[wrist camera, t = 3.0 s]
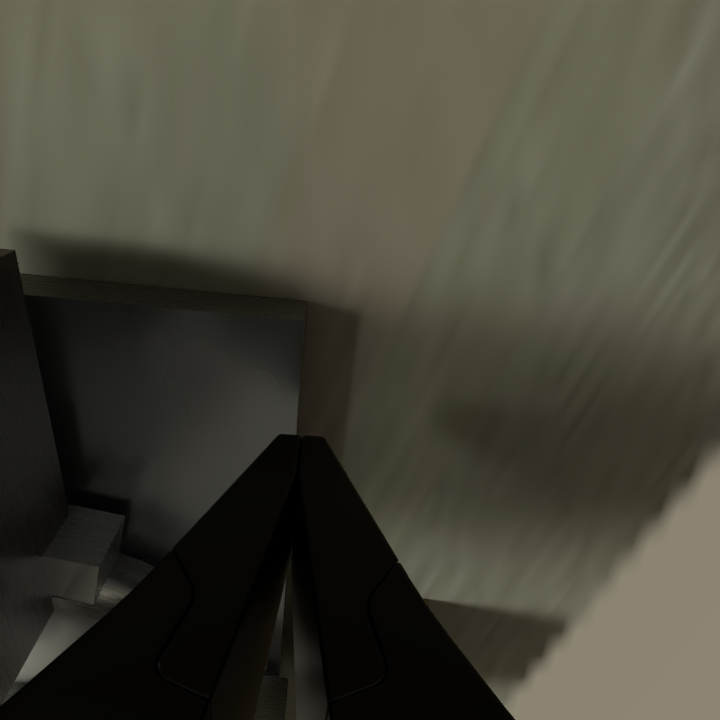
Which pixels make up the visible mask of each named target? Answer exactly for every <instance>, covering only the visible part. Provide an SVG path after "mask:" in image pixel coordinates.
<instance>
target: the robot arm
mask: <svg viewBox="0 0 720 720" xmlns="http://www.w3.org/2000/svg"><path fill="white" fill-rule="evenodd" d="M292 538H293V540H292ZM291 547H292V555H291ZM290 555H291V575H292V607H293V639H294V671H295V703H296V720H515V719H514V718H513V716H512V715H511V714H510V713H509V712H508V710H507V709H506V708H505V707H504V705H503V704H502V703H501V701H500V700H499V699H498V698H497V696H496V695H495V694H494V692H493V691H492V690H491V689H490V687H489V686H488V685H487V684H486V682H485V681H484V680H483V678H482V677H481V676H480V675H479V673H478V672H477V671H476V669H475V668H474V667H473V666H472V664H471V663H470V662H469V660H468V659H467V658H466V657H465V655H464V654H463V653H462V651H461V650H460V649H459V648H458V646H457V645H456V644H455V642H454V641H453V640H452V639H451V637H450V636H449V635H448V633H447V632H446V631H445V629H444V628H443V627H442V625H441V624H440V623H439V621H438V620H437V619H436V617H435V616H434V614H433V613H432V612H431V610H430V609H429V608H428V606H427V605H426V603H425V602H424V600H423V599H422V597H421V596H420V594H419V592H418V591H417V589H416V588H415V586H414V585H413V583H412V582H411V580H410V578H409V577H408V575H407V573H406V572H405V570H404V568H403V567H402V565H401V564H400V563H398V559H397V557H396V555H395V554H394V552H393V550H392V549H391V547H390V545H389V544H388V542H387V540H386V539H385V537H384V535H383V534H382V532H381V530H380V529H379V527H378V525H377V524H376V522H375V520H374V519H373V517H372V515H371V514H370V512H369V510H368V509H367V507H366V505H365V504H364V502H363V500H362V499H361V497H360V496H359V494H358V492H357V491H356V489H355V487H354V486H353V484H352V482H351V481H350V479H349V477H348V476H347V474H346V472H345V471H344V469H343V467H342V466H341V464H340V462H339V461H338V459H337V457H336V456H335V454H334V452H333V451H332V449H331V447H330V446H329V444H328V442H327V441H326V439H325V438H324V437H319V436H303V437H302V440H301V437H300V436H299V435H291V434H279V435H278V436H277V437H276V438H275V439H274V440H273V441H272V442H271V443H270V444H269V445H268V446H267V447H266V448H265V449H264V451H263V452H262V453H261V454H260V455H259V456H258V457H257V458H256V459H255V460H254V461H253V462H252V463H251V465H250V466H249V467H248V468H247V469H246V470H245V471H244V472H243V473H242V474H241V475H240V476H239V477H238V478H237V480H236V481H235V482H234V483H233V484H232V485H231V486H230V487H229V488H228V489H227V490H226V491H225V492H224V493H223V495H222V496H221V497H220V498H219V499H218V500H217V501H216V502H215V503H214V504H213V505H212V506H211V507H210V508H209V510H208V511H207V512H206V513H205V514H204V515H203V516H202V517H201V518H200V519H199V520H198V521H197V522H196V523H195V525H194V526H193V527H192V528H191V529H190V530H189V531H188V532H187V533H186V534H185V535H184V536H183V537H182V539H181V540H180V541H179V542H178V543H177V544H176V545H175V546H174V547H173V548H172V551H169V552H168V553H167V554H166V555H165V556H164V557H163V559H162V560H161V561H160V562H159V563H158V564H157V565H156V566H155V567H154V568H153V569H152V570H151V571H150V572H149V573H148V574H147V575H146V576H145V577H144V578H143V579H142V580H141V581H140V582H139V583H138V584H137V585H136V586H135V587H134V589H133V590H132V591H131V592H130V593H128V594H127V595H126V596H125V597H124V598H123V599H122V600H121V601H120V602H119V603H117V604H116V605H115V606H114V607H113V608H112V609H111V610H110V611H109V612H108V613H106V614H105V615H104V616H103V617H102V618H101V619H100V620H99V621H98V622H97V623H95V624H94V625H93V626H92V627H91V628H90V629H89V630H87V631H86V632H85V633H84V634H83V635H82V636H80V637H79V638H78V639H77V640H76V641H75V642H74V643H72V644H71V645H70V646H69V647H68V648H67V649H66V650H64V651H63V652H62V653H61V654H60V655H59V656H57V657H56V658H55V659H54V660H53V661H52V662H51V663H49V664H48V665H47V666H46V667H45V668H44V669H43V670H41V671H40V672H39V673H38V674H37V675H36V676H34V677H33V678H32V679H31V680H30V681H29V682H28V683H26V684H25V685H24V686H23V687H22V688H21V689H20V690H18V691H17V692H16V693H15V694H14V695H13V696H11V697H10V698H9V699H8V700H7V701H5V702H4V703H3V704H2V705H0V720H254V716H255V711H256V707H257V703H258V698H259V694H260V689H261V685H262V681H263V676H264V672H265V667H266V663H267V659H268V654H269V650H270V645H271V641H272V637H273V632H274V628H275V624H276V619H277V615H278V610H279V606H280V602H281V597H282V593H283V588H284V584H285V580H286V575H287V571H288V566H289V561H290Z"/></svg>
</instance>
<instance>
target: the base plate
mask: <svg viewBox="0 0 720 720" xmlns="http://www.w3.org/2000/svg"><path fill="white" fill-rule="evenodd" d="M20 276H21V281H22V286H23V291H24V296H25V301H26V305H27V310H28V315H29V320H30V325H31V329H32V334H33V339H34V344H35V349H36V354H37V358H38V363H39V368H40V373H41V378H42V382H43V387H44V392H45V397H46V402H47V407H48V411H49V416H50V421H51V426H52V431H53V435H54V440H55V445H56V450H57V455H58V460H59V464H60V469H61V474H62V479H63V484H64V488H65V493H66V498H67V503H68V504H70V505H75V506H80V507H85V508H90V509H94V510H99V511H104V512H109V513H114V514H119V515H124V516H125V520H124V526H123V532H122V538H121V545H120V551H119V552H120V553H122V554H125V555H128V556H130V557H133V558H136V559H139V560H141V561H144V562H146V563H148V564H150V565H152V566H154V567H155V566H156V565H157V564H158V563H159V562H160V561H161V560H162V559H163V557H164V556H165V555H166V554H167V553H168V552H169V551H172V548H173V547H174V546H175V545H176V544H177V543H178V542H179V541H180V540H181V539H182V537H183V536H184V535H185V534H186V533H187V532H188V531H189V530H190V529H191V528H192V527H193V526H194V525H195V523H196V522H197V521H198V520H199V519H200V518H201V517H202V516H203V515H204V514H205V513H206V512H207V511H208V510H209V508H210V507H211V506H212V505H213V504H214V503H215V502H216V501H217V500H218V499H219V498H220V497H221V496H222V495H223V493H224V492H225V491H226V490H227V489H228V488H229V487H230V486H231V485H232V484H233V483H234V482H235V481H236V480H237V478H238V477H239V476H240V475H241V474H242V473H243V472H244V471H245V470H246V469H247V468H248V467H249V466H250V465H251V463H252V462H253V461H254V460H255V459H256V458H257V457H258V456H259V455H260V454H261V453H262V452H263V451H264V449H265V448H266V447H267V446H268V445H269V444H270V443H271V442H272V441H273V440H274V439H275V438H276V437H277V436H278V435H279V434H291V435H297V434H298V420H299V406H300V392H301V378H302V364H303V350H304V336H305V322H306V308H307V301H298V300H287V299H277V298H266V297H256V296H245V295H235V294H224V293H214V292H204V291H193V290H183V289H172V288H162V287H151V286H141V285H130V284H120V283H109V282H99V281H88V280H78V279H68V278H57V277H47V276H36V275H26V274H20ZM287 574H288V571H287ZM286 588H287V575H286V580H285V584H284V588H283V593H282V597H281V602H280V606H279V610H278V615H277V619H276V624H275V628H274V632H273V637H272V641H271V645H270V650H269V654H268V661H267V669H265V672H264V675H267V676H273V677H280V672H281V658H282V644H283V630H284V616H285V602H286Z"/></svg>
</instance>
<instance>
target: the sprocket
mask: <svg viewBox="0 0 720 720" xmlns="http://www.w3.org/2000/svg"><path fill="white" fill-rule="evenodd" d="M124 520H125V516H124V515H119V514H114V513H109V512H104V511H99V510H94V509H90V508H85V507H80V506H75V505H70V504H68V503H67V498H66V493H65V488H64V484H63V479H62V474H61V469H60V464H59V460H58V455H57V450H56V445H55V440H54V435H53V431H52V426H51V421H50V416H49V411H48V407H47V402H46V397H45V392H44V387H43V382H42V378H41V373H40V368H39V363H38V358H37V354H36V349H35V344H34V339H33V334H32V329H31V325H30V320H29V315H28V310H27V305H26V301H25V296H24V291H23V286H22V281H21V276H20V272H19V267H18V262H17V257H16V252H15V250H8V249H0V705H2V704H3V703H4V702H5V701H7V700H8V699H9V698H10V697H11V696H13V695H14V694H15V693H16V692H17V691H18V690H20V689H21V688H22V687H23V686H24V685H25V684H26V683H28V682H29V681H30V680H31V679H32V678H33V677H34V676H36V675H37V674H38V673H39V672H40V671H41V670H43V669H44V668H45V667H46V666H47V665H48V664H49V663H51V662H52V661H53V660H54V659H55V658H56V657H57V656H59V655H60V654H61V653H62V652H63V651H64V650H66V649H67V648H68V647H69V646H70V645H71V644H72V643H74V642H75V641H76V640H77V639H78V638H79V637H80V636H82V635H83V634H84V633H85V632H86V631H87V630H89V629H90V628H91V627H92V626H93V625H94V624H95V623H97V622H98V621H99V620H100V619H101V618H102V617H103V616H104V615H105V614H106V613H108V612H109V611H110V610H111V609H112V608H113V607H114V606H115V605H116V604H117V603H119V602H120V601H121V600H122V599H123V598H124V597H125V596H126V595H127V594H128V593H130V592H131V591H132V590H133V589H134V587H135V586H136V585H137V584H138V583H139V582H140V581H141V580H142V579H143V578H144V577H145V576H146V575H147V574H148V573H149V572H150V571H151V570H152V569H153V568H154V566H152V565H150V564H148V563H146V562H144V561H141V560H139V559H136V558H133V557H130V556H128V555H125V554H122V553H120V552H119V551H120V545H121V538H122V532H123V526H124ZM267 661H268V659H267ZM265 669H267V663H266V667H265ZM287 684H288V679H286V678H280V677H273V676H267V675H264V676H263V681H262V685H261V689H260V694H259V698H258V703H257V707H256V711H255V716H254V720H284V718H285V707H286V696H287Z"/></svg>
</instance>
